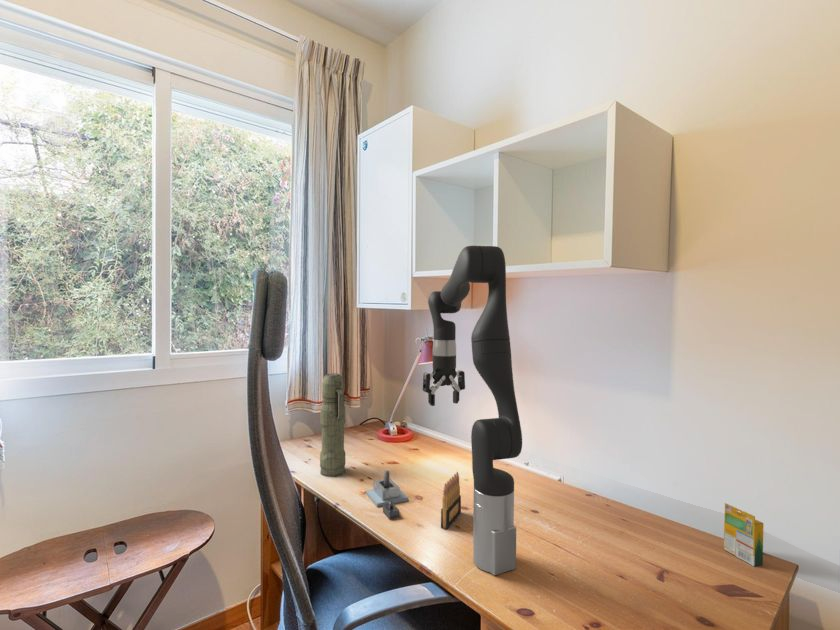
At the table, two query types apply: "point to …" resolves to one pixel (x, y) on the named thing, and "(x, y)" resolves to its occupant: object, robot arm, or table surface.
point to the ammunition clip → (451, 502)
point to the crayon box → (743, 535)
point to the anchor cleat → (391, 510)
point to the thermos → (332, 426)
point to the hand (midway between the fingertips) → (444, 404)
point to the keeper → (375, 497)
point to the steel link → (386, 490)
